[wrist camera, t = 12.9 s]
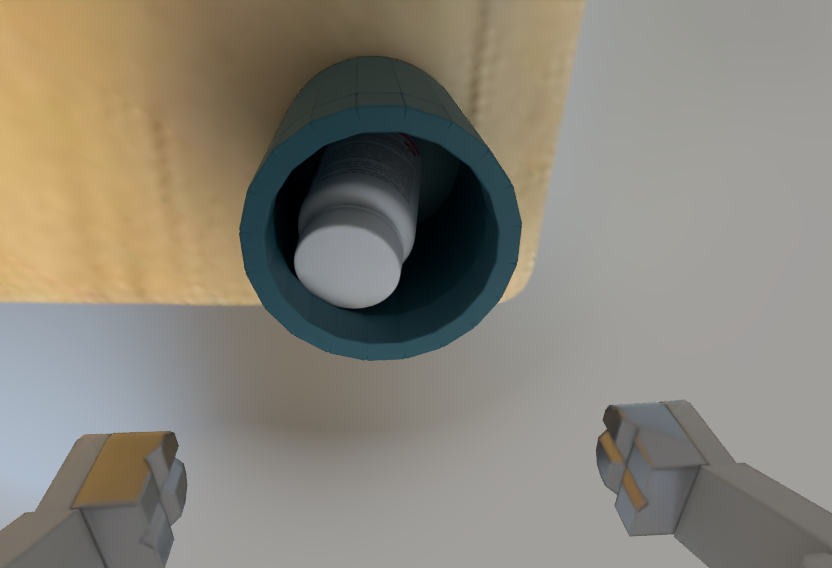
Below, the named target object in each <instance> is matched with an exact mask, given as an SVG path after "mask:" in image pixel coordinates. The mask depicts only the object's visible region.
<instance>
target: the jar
mask: <svg viewBox="0 0 832 568" xmlns="http://www.w3.org/2000/svg"><path fill="white" fill-rule="evenodd" d="M393 132H402V133H405V134H408V135H410V136H411V138H412V139H413V140H414V142H415V143H416V145H417V147H418V149H419V152H420V155H421V161H422V176H421V184H420V193H419V203H418V214H417V224H416V233H415V240H414V244H413V247H412V250H411V252H410V254H409V256H408V257H407V259H406V260H405V261H404V263H403V264H402V268H401V274H400V279H399V282H398V285H397V287H396V288H395V290H394V291H393V292H392V294H391V295H390V296H388V297H387V298H386V299H385V300H383V301H381V302H380V303H378V304H376V305H373V306H369V307H365V308H342V307H337V306H334V305H331V304H330V303H328V302H326V301H324V300H322V299H321V298H319V297H317V296H315V295H313V294H312V293H311V292H310V291H309V290H308V289H307V288H306V287H305V286H304V285H303V284H302V283H301V282H300V280H299V278H298V276H297V274H296V271H295V266H294V255H295V251H296V248H297V244H298V241H299V233H298V218H299V213H300V209H301V206H302V204H303V202H304V199H305V196H306V194H307V192H308V189H309V187H310V185H311V181H312V180H313V177H314V175H315V172H316V170H317V167H318V165H319V163H320V160H321V157H322V155H323V152H324V149H325V147H326V145H327V144H330V143H333V142H336V141H339V140H342V139H345V138H348V137H351V136H354V135H357V134H360V133H393ZM521 225H522V222H521V217H520V213H519V209H518V204H517V200H516V196H515V192H514V187H513V185H512V184H511V181H510V179H509V178H508V176H507V175H506V173H505V172H504V170H503V169H502V167H501V166H500V164H499V163H498V161H497V159H496V158H495V156H494V155H493V153H492V152H491V150H490V149H489V148H488V146H487V145H486V144H485V142H484V141H483V140H482V138H481V137H480V136H479V134H478V133H477V131H476V130H475V129H474V127H473V126H472V125H471V123H470V122H469V121H468V119H467V118H466V117H465V115H464V114H463V112H462V111H461V110H460V108H459V107H458V106H457V104H456V103H455V102H454V100H453V99H452V98H451V96H450V95H449V94H448V92H447V91H446V90H445V88H444V87H443V86H441V85H440V84H439V83H438V82H437V81H435V80H434V79H433V78H432V77H431V76H430V75H428V74H427V73H425V72H424V71H423V70H421V69H419V68H417V67H415V66H413V65H411V64H409V63H406V62H403V61H401V60H398V59H393V58H388V57H379V56H366V57H357V58H352V59H348V60H345V61H342V62H339V63H336V64H334V65H332V66H330V67H328V68H327V69H325V70H323V71H322V72H320V73H319V74H317V75H316V76H315V77H313V78H312V79H311V80H310V81H309V82H308V83H307V84H306V85H305V86H304V87H303V88H302V89H301V90H300V92H299V93H298V95H297V96H296V98H295V100H294V101H293V103H292V105H291V106H290V108H289V110H288V111H287V113H286V115H285V117H284V119H283V120H282V122H281V124H280V126H279V128H278V130H277V132H276V134H275V136H274V138H273V140H272V142H271V144H270V146H269V148H268V150H267V152H266V154H265V156H264V158H263V160H262V162H261V164H260V166H259V168H258V170H257V172H256V174H255V176H254V178H253V180H252V182H251V183H250V185H249V187H248V191H247V193H246V198H245V203H244V208H243V213H242V218H241V223H240V228H239V230H240V233H239V236H240V242H241V249H242V255H243V261H244V268H245V271H246V275H247V277H248V278H249V280H250V282H251V284H252V286H253V288H254V289H255V291H256V293H257V295H258V297H259V299H260V301H261V302H262V304H263V306H264V307H265V309H266V310H267V311H268V312H269V313H270V314H271V315H273V317H275V318H276V319H277V320H278V321H279V322H280V323H281V324H282V325H283V326H284V327H285V328H286V329H287V330H288V331H289V332H290V333H291V334H294V336H296V337H298V338H300V339H302V340H304V341H306V342H308V343H310V344H312V345H314V346H316V347H317V348H319V349H321V350H324V351H325V352H328V351H329V353H332V354H337V355H342V356H347V357H351V358H356V359H360V360H366V359H367V360H368V361H373V360H395V359H404V358H410V357H414V356H417V355H420V354H423V353H426V352H429V351H433V350H436V349H439V348H441V347H442V346H443V347H444V346H446V345H448V344H449V343H451V342H452V341H454V340H456V339H457V338H459V337H460V336H462V335H463V334H465V333H467V332H468V331H470V330H471V329H473V328H474V326H476V325H478V324H479V323H480V321H481V320H482V319H483V318H484V317H485V316H486V315H487V314H488V313H489V312H490V310H491V309H492V308H493V307H494V306H495V305H496V304H497V303H498V302H499V300H500V298H501V297H502V296H503V294H504V291H505V289H506V287H507V285H508V283H509V281H510V279H511V276H512V274H513V272H514V270H515V268H516V266H517V261H518V254H519V245H520V236H521V228H522V226H521Z"/></svg>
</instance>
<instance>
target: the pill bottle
mask: <svg viewBox="0 0 832 568" xmlns="http://www.w3.org/2000/svg"><path fill="white" fill-rule="evenodd" d="M421 176H422V161H421V155H420V152H419V149H418V147H417V145H416V143H415V142H414V140H413V139H412V138H411V136H410V135H408V134H405V133H402V132H393V133H360V134H357V135H354V136H351V137H348V138H345V139H342V140H339V141H336V142H333V143H330V144H327V145H326V147H325V149H324V152H323V155H322V157H321V160H320V163H319V165H318V167H317V170H316V172H315V175H314V177H313V180H312V181H311V185H310V187H309V189H308V192H307V194H306V196H305V199H304V202H303V204H302V206H301V209H300V213H299V218H298V233H299V241H298V244H297V248H296V251H295V255H294V266H295V271H296V274H297V276H298V278H299V280H300V282H301V283H302V284H303V285H304V286H305V287H306V288H307V289H308V290H309V291H310V292H311V293H312V294H313V295H315V296H317V297H319V298H321V299H322V300H324V301H326V302H328V303H330V304H331V305H334V306H337V307H342V308H365V307H369V306H373V305H376V304H378V303H380V302H381V301H383V300H385V299H386V298H387V297H388V296H390V295H391V294H392V292H393V291H394V290H395V288H396V287H397V285H398V282H399V279H400V274H401V268H402V264H403V263H404V261H405V260H406V259H407V257H408V256H409V254H410V252H411V250H412V247H413V244H414V240H415V233H416V224H417V214H418V203H419V193H420V184H421Z"/></svg>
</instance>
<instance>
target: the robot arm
mask: <svg viewBox="0 0 832 568" xmlns="http://www.w3.org/2000/svg"><path fill="white" fill-rule="evenodd" d="M603 422H604V424H605V426H606V428H607V430H606V431H605V432H604V433H603V434H601V435H600V436H599V437H598V442H597V447H596V457H597V466H598V469H599V473H600V476H601V478H602V480H603V482H604V484H605V486H606V487H607V488H609V489H610V490H611V491H613V492H614V493H615V494H617V499H616V502H615V508H616V510H617V512H618V514H619V516H620V518H621V520H622V522H623V524H624V526H625V528H626V530H627V532H628V534H629V536H647V535H667V534H674V537H675V538H676V539H677V540H678V541H679V542H681V543H682V544H683V545H684V546H685V547H686V548H687V549H689V550H690V551H691V552H692V553H693V554H694V555H695V556H697V557H698V558H699V559H700V560H701V561H702V562H703V563H705V564H706V565H707V566H708V567H709V568H832V513H830V512H829V511H827V510H825V509H823V508H822V507H820V506H818V505H817V504H815V503H813V502H811V501H810V500H808V499H806V498H804V497H803V496H801V495H799V494H798V493H796V492H794V491H792V490H791V489H789V488H787V487H785V486H784V485H782V484H780V483H779V482H777V481H775V480H773V479H772V478H770V477H768V476H766V475H765V474H763V473H761V472H760V471H758V470H756V469H754V468H752V467H751V466H749V465H747V464H746V463H736V462H735V460H734V459H733V458H732V456H731V455H730V454H729V452H728V451H727V450H726V449H725V447H724V446H723V445H722V443H721V442H720V441H719V439H718V438H717V437H716V436H715V434H714V433H713V432H712V430H711V429H710V428H709V427H708V425H707V424H706V423H705V421H704V420H703V419H702V418H701V416H700V415H699V413H698V412H697V411H696V410H695V408H694V407H693V406H692V405H691V403H689V402H687V401H686V400H676V401H662V402H650V403H635V404H619V405H609V406H608V408H607V409H606V410H605V414H604V417H603ZM177 449H178V442H177V440H176V436H175V433H173V432H170V431H159V432H130V433H113V434H88V435H83V436H82V437H81V438H79V439H78V440H77V441H76V442H75V444H74V446H73V447H72V449H71V451H70V452H69V454H68V456H67V457H66V459H65V461H64V463H63V464H62V466H61V468H60V469H59V471H58V473H57V475H56V476H55V478H54V480H53V481H52V483H51V485H50V486H49V488H48V490H47V492H46V494H45V495H44V497H43V499H42V500H41V502H40V504H39V505H38V507H37V509H36V510H35V512H27V513H24V514H23V515H21V516H20V517H19V518H17V519H16V520H15V521H13V522H12V523H11V524H9V525H8V526H6V527H5V528H4V529H2V530H1V531H0V568H165V566H166V563H167V560H168V557H169V554H170V550H171V547H172V544H173V541H174V536H173V533H172V530H171V527H170V526H171V525H172V524H174V523H175V522H176V521H177V520H178V519H179V518H180V517H181V515H182V512H183V509H184V505H185V501H186V492H187V478H186V471H185V467H184V463H182V462H181V461H180V460H178V459H176V458H175V455H176V452H177Z"/></svg>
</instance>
